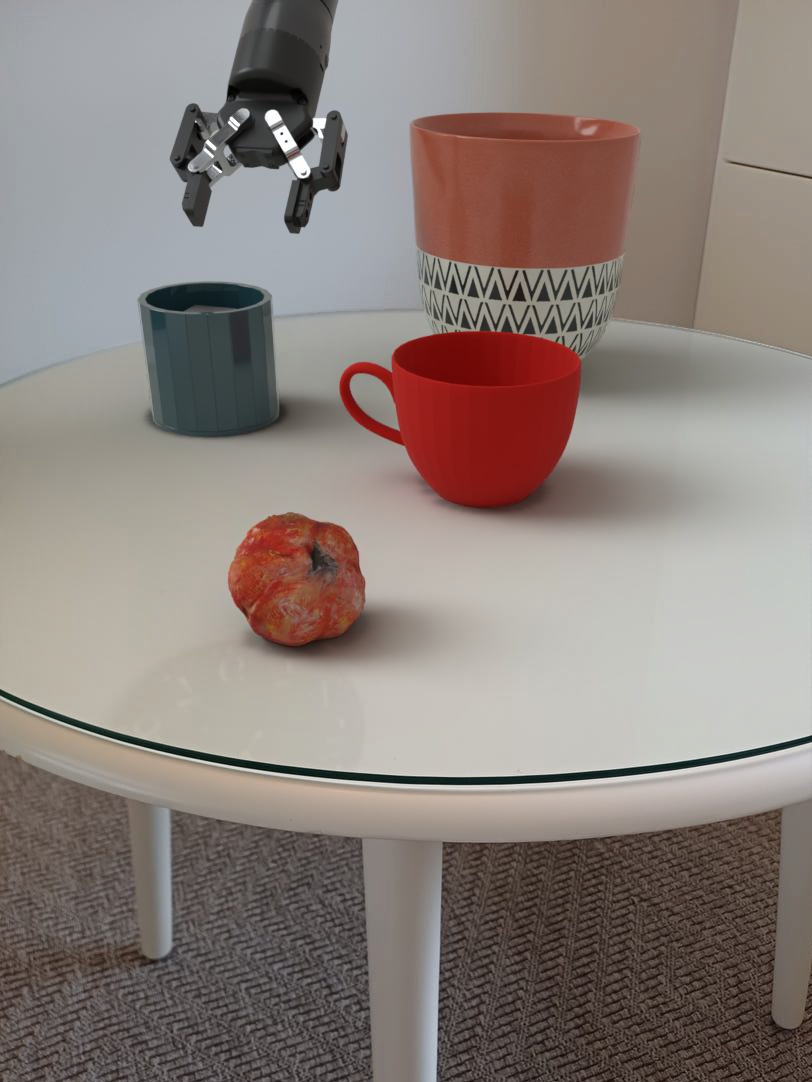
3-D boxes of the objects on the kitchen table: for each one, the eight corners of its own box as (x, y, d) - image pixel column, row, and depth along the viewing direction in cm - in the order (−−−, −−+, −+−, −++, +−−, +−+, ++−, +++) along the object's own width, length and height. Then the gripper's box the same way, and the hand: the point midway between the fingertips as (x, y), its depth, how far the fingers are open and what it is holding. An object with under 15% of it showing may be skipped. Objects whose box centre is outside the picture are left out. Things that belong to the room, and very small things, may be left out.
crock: (143, 441, 88) (126, 313, 83) (164, 398, 97) (150, 280, 92) (274, 441, 89) (265, 314, 84) (284, 399, 98) (276, 281, 93)
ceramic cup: (366, 448, 88) (363, 320, 83) (580, 468, 86) (590, 338, 81) (317, 515, 77) (309, 373, 72) (561, 540, 75) (571, 394, 70)
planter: (470, 334, 117) (474, 107, 106) (648, 364, 109) (673, 123, 98) (371, 386, 101) (365, 127, 91) (570, 424, 94) (589, 147, 83)
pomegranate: (220, 663, 65) (252, 637, 56) (208, 539, 66) (237, 494, 57) (344, 653, 68) (394, 627, 59) (331, 534, 69) (378, 490, 59)
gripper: (187, 22, 94) (142, 191, 90) (351, 27, 91) (312, 201, 88) (219, 86, 101) (179, 245, 97) (371, 93, 99) (336, 256, 95)
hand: (242, 224), depth 93 cm, fingers open, 8 cm apart
